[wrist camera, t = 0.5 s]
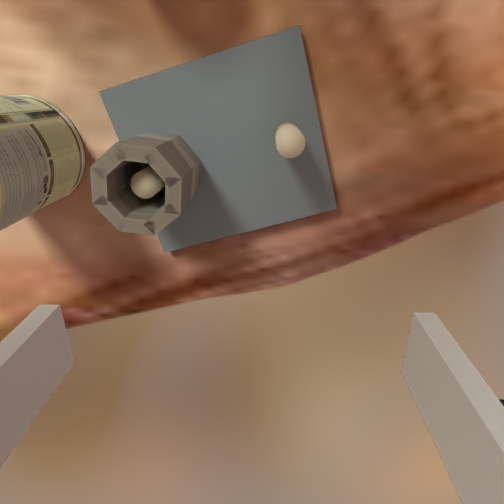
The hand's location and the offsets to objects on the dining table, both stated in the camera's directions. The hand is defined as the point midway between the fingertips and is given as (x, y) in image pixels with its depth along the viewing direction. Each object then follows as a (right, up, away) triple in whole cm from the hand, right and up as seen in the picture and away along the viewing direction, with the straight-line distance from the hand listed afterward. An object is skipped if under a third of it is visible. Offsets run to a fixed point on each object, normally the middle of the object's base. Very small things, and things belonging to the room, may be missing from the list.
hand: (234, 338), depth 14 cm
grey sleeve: (-8, +11, +21) cm, 25 cm away
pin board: (-2, +13, +21) cm, 25 cm away
